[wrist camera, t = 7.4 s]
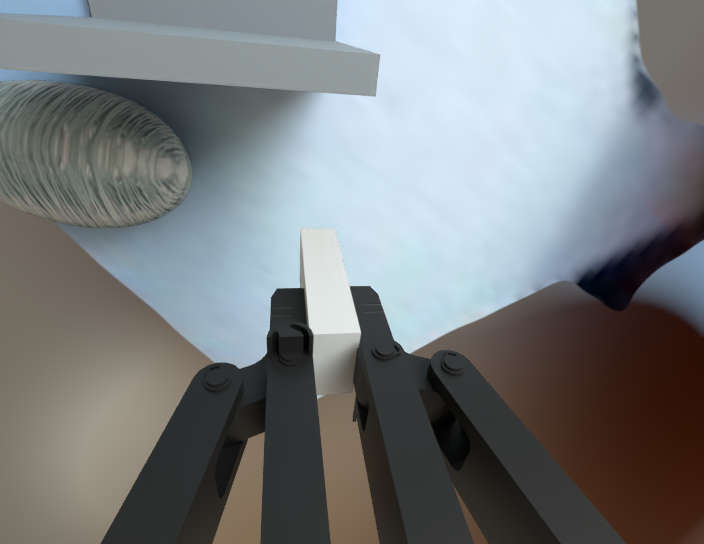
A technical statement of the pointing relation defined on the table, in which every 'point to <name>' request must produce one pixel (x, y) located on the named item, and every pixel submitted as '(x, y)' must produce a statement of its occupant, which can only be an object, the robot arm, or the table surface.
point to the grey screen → (195, 44)
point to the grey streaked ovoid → (87, 156)
